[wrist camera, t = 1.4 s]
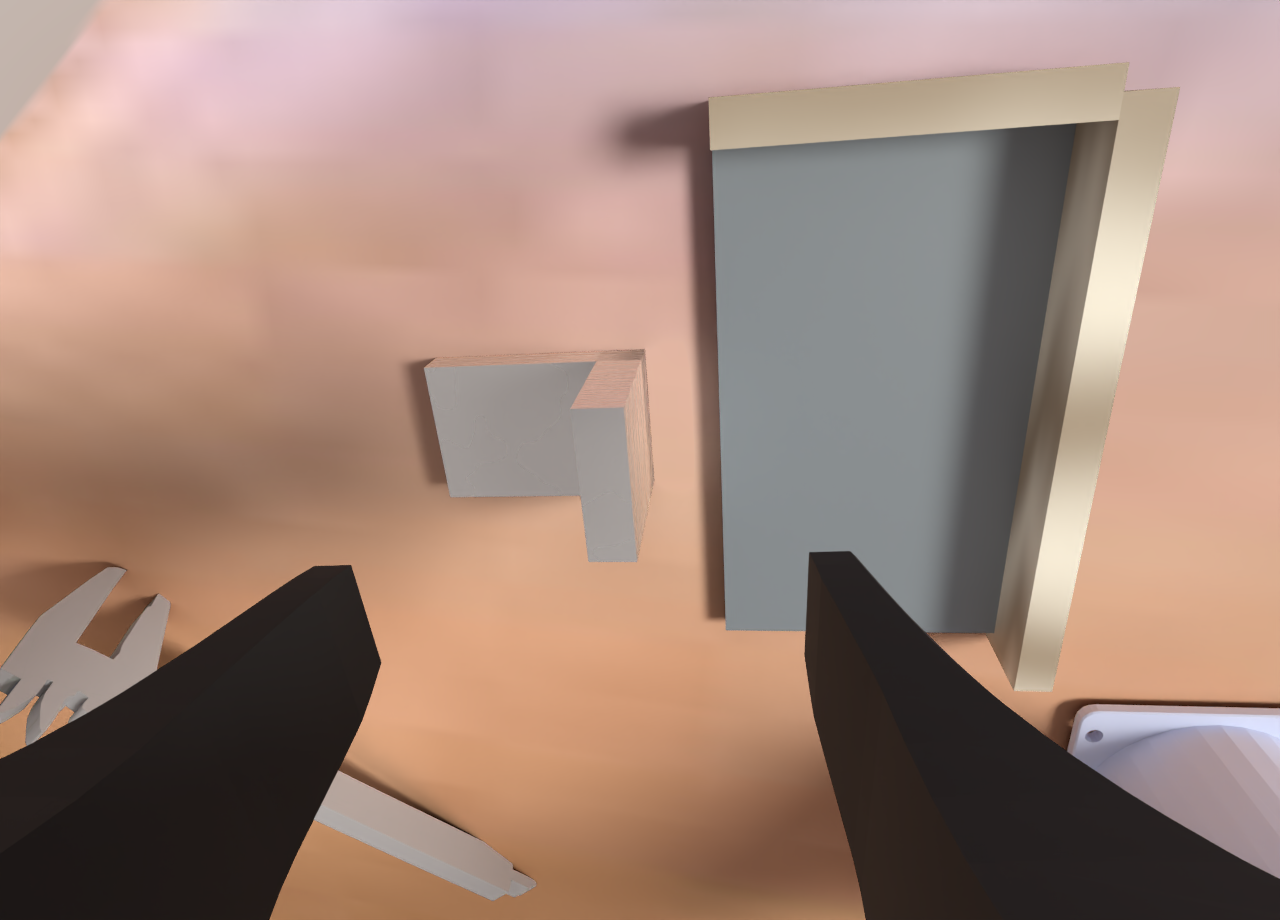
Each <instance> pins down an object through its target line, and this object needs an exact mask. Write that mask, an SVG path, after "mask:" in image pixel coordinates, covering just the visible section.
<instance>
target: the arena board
mask: <svg viewBox="0 0 1280 920" xmlns="http://www.w3.org/2000/svg"><path fill="white" fill-rule="evenodd" d="M1076 124H1077V123H1071V124H1058V125H1045V126H1031V127H1018V128H1004V129H991V130H977V131H964V132H950V133H937V134H924V135H910V136H897V137H883V138H870V139H856V140H843V141H830V142H816V143H803V144H789V145H776V146H762V147H749V148H736V149H722V150H712V166H713V200H714V235H715V270H716V305H717V339H718V374H719V409H720V444H721V479H722V513H723V548H724V583H725V618H726V630H754V631H806V611H807V588H808V565H809V552H832V551H851V552H852V553H853V554H854V555H855V556H856V557H857V558H858V559H859V560H860V562H861V563H862V564H863V565H864V566H865V567H866V569H867V570H868V571H869V572H870V573H871V574H872V575H873V577H874V578H875V579H876V580H877V581H878V582H879V583H880V585H881V586H882V587H883V588H884V589H885V590H886V591H887V592H888V593H889V595H890V596H891V597H892V598H893V599H894V600H895V601H896V602H897V603H898V604H899V605H900V607H901V608H902V609H903V610H904V611H905V612H906V613H907V614H908V615H909V616H910V617H911V618H912V619H913V620H914V621H915V622H916V623H917V624H918V625H919V626H920V627H921V628H922V629H923V630H924V631H925V632H932V633H994V631H995V625H996V618H997V612H998V606H999V600H1000V594H1001V588H1002V581H1003V575H1004V569H1005V563H1006V557H1007V550H1008V544H1009V538H1010V532H1011V526H1012V520H1013V513H1014V507H1015V501H1016V495H1017V489H1018V482H1019V476H1020V470H1021V464H1022V458H1023V452H1024V445H1025V439H1026V433H1027V427H1028V421H1029V414H1030V408H1031V402H1032V396H1033V390H1034V384H1035V377H1036V371H1037V365H1038V359H1039V353H1040V346H1041V340H1042V334H1043V328H1044V322H1045V316H1046V309H1047V303H1048V297H1049V291H1050V285H1051V278H1052V272H1053V266H1054V260H1055V254H1056V248H1057V241H1058V235H1059V229H1060V223H1061V217H1062V210H1063V204H1064V198H1065V192H1066V186H1067V180H1068V173H1069V167H1070V161H1071V155H1072V149H1073V142H1074V136H1075V130H1076Z"/></svg>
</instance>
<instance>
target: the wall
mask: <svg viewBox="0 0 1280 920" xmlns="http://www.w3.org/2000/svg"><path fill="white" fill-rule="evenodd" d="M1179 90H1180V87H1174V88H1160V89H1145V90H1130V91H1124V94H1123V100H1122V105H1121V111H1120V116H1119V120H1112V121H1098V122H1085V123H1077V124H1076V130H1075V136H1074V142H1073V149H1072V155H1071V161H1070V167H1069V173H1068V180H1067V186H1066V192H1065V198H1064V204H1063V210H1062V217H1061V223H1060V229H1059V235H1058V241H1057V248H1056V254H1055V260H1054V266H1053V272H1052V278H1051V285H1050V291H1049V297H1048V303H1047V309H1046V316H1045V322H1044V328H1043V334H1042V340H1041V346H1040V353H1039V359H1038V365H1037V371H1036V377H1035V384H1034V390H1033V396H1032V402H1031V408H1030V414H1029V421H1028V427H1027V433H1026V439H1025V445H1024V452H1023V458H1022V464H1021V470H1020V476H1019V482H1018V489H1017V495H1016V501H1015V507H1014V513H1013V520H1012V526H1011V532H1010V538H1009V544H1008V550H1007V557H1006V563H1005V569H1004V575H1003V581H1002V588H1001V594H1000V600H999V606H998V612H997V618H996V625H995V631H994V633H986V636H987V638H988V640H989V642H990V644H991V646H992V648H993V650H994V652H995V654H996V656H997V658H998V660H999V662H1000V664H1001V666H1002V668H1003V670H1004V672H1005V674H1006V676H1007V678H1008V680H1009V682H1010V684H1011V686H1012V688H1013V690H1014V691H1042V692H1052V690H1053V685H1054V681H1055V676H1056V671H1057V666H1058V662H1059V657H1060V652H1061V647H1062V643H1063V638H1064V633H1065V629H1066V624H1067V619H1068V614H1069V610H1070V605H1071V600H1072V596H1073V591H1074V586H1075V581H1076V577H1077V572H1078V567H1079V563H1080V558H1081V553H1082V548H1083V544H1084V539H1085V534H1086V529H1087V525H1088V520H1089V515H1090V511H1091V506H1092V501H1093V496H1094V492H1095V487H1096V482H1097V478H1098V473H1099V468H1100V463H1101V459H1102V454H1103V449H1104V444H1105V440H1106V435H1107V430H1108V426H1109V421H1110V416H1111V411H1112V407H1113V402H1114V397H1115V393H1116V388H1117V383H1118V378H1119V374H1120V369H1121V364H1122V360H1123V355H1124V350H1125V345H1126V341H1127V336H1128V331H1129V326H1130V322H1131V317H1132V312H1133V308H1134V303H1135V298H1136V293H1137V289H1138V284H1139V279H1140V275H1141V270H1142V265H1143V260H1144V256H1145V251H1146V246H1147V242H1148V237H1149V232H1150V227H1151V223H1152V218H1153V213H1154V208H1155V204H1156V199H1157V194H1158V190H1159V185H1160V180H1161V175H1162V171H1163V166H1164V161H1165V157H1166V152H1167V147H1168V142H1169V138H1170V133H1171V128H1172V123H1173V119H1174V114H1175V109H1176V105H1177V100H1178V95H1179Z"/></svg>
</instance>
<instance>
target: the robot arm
mask: <svg viewBox="0 0 1280 920" xmlns="http://www.w3.org/2000/svg"><path fill="white" fill-rule="evenodd" d="M805 662H806V669H807V675H808V682H809V689H810V695H811V701H812V708H813V714H814V719H815V722H816V726H817V730H818V734H819V737H820V741H821V745H822V748H823V752H824V756H825V759H826V763H827V767H828V770H829V774H830V777H831V781H832V785H833V788H834V792H835V795H836V799H837V803H838V806H839V810H840V813H841V817H842V821H843V824H844V828H845V831H846V835H847V839H848V842H849V846H850V849H851V853H852V857H853V861H854V865H855V869H856V873H857V878H858V882H859V886H860V891H861V896H862V901H863V907H864V912H865V918H866V920H1280V708H1241V707H1198V706H1154V705H1110V704H1092V705H1087V706H1084V707H1082V708H1081V709H1080V710H1079V711H1078V712H1077V714H1076V715H1075V719H1074V724H1073V728H1072V732H1071V736H1070V741H1069V745H1068V749H1067V751H1066V750H1064V749H1063V748H1062V747H1060V746H1059V745H1057V744H1056V743H1055V742H1053V741H1052V740H1050V739H1049V738H1048V737H1046V736H1045V735H1044V734H1042V733H1041V732H1040V731H1038V730H1037V729H1036V728H1034V727H1033V726H1032V725H1031V724H1029V723H1028V722H1027V721H1025V720H1024V719H1023V718H1022V717H1020V716H1019V715H1018V714H1016V713H1015V712H1014V711H1012V710H1011V709H1010V708H1009V707H1007V706H1006V705H1005V704H1003V703H1002V702H1001V701H1000V700H999V699H997V698H996V697H995V696H994V695H992V694H991V693H990V692H989V691H988V690H987V689H985V688H984V687H983V686H982V685H981V684H980V683H979V682H977V681H976V680H975V679H974V678H973V677H972V676H971V675H970V674H969V673H967V672H966V671H965V670H964V669H963V668H962V667H961V666H960V665H959V664H957V663H956V662H955V661H954V660H953V659H952V658H951V657H950V656H949V655H948V654H947V653H946V652H945V651H944V650H943V649H942V648H941V647H940V646H939V645H938V644H937V643H936V642H935V641H934V640H933V639H932V638H931V637H930V636H929V635H928V634H927V633H926V632H925V631H924V630H923V629H922V628H921V627H920V626H919V625H918V624H917V623H916V622H915V621H914V620H913V619H912V618H911V617H910V616H909V615H908V614H907V613H906V612H905V611H904V610H903V609H902V608H901V607H900V605H899V604H898V603H897V602H896V601H895V600H894V599H893V598H892V597H891V596H890V595H889V593H888V592H887V591H886V590H885V589H884V588H883V587H882V586H881V585H880V583H879V582H878V581H877V580H876V579H875V578H874V577H873V575H872V574H871V573H870V572H869V571H868V570H867V569H866V567H865V566H864V565H863V564H862V563H861V562H860V560H859V559H858V558H857V557H856V556H855V555H854V554H853V553H852V552H851V551H832V552H809V565H808V588H807V611H806V634H805ZM380 665H381V660H380V657H379V654H378V651H377V647H376V644H375V641H374V638H373V635H372V631H371V628H370V625H369V622H368V618H367V615H366V612H365V609H364V605H363V602H362V599H361V596H360V593H359V589H358V586H357V583H356V580H355V576H354V573H353V570H352V567H351V565H339V566H314V567H312V568H311V569H309V570H307V571H305V572H304V573H302V574H300V575H299V576H297V577H295V578H294V579H292V580H291V581H289V582H288V583H286V584H285V585H283V586H282V587H280V588H279V589H277V590H276V591H274V592H273V593H271V594H270V595H268V596H267V597H265V598H264V599H262V600H261V601H259V602H258V603H256V604H255V605H254V606H252V607H251V608H249V609H248V610H246V611H245V612H243V613H242V614H241V615H239V616H238V617H236V618H235V619H233V620H232V621H230V622H229V623H227V624H226V625H224V626H223V627H222V628H220V629H219V630H217V631H216V632H214V633H213V634H211V635H210V636H208V637H207V638H205V639H204V640H203V641H201V642H200V643H198V644H197V645H195V646H194V647H192V648H191V649H189V650H188V651H186V652H184V653H183V654H181V655H180V656H178V657H177V658H175V659H174V660H172V661H170V662H169V663H167V664H166V665H164V666H163V667H161V668H159V669H158V670H156V671H155V672H153V673H152V674H150V675H149V676H147V677H145V678H144V679H142V680H141V681H139V682H138V683H136V684H134V685H133V686H131V687H130V688H128V689H127V690H125V691H123V692H122V693H120V694H118V695H117V696H115V697H113V698H112V699H110V700H108V701H107V702H105V703H103V704H102V705H100V706H98V707H97V708H95V709H93V710H91V711H90V712H88V713H86V714H84V715H83V716H81V717H79V718H77V719H75V720H74V721H72V722H70V723H68V724H66V725H65V726H63V727H61V728H59V729H57V730H55V731H54V732H52V733H50V734H48V735H46V736H45V737H43V738H41V739H39V740H37V741H35V742H33V743H31V744H30V745H28V746H26V747H24V748H22V749H20V750H18V751H16V752H14V753H12V754H10V755H8V756H6V757H3V758H1V759H0V920H269V919H270V916H271V914H272V911H273V908H274V906H275V903H276V901H277V898H278V895H279V893H280V890H281V888H282V885H283V883H284V881H285V879H286V876H287V874H288V872H289V870H290V868H291V865H292V863H293V861H294V859H295V856H296V854H297V852H298V850H299V848H300V846H301V844H302V842H303V840H304V838H305V836H306V834H307V832H308V830H309V828H310V826H311V824H312V822H313V820H314V818H315V816H316V814H317V812H318V810H319V808H320V806H321V804H322V802H323V800H324V798H325V796H326V794H327V792H328V790H329V788H330V786H331V784H332V782H333V780H334V778H335V776H336V774H337V772H338V770H339V768H340V766H341V764H342V762H343V760H344V758H345V756H346V753H347V751H348V749H349V747H350V745H351V743H352V741H353V739H354V737H355V735H356V733H357V731H358V728H359V726H360V724H361V722H362V720H363V717H364V714H365V711H366V708H367V705H368V703H369V700H370V697H371V694H372V691H373V688H374V684H375V681H376V678H377V675H378V672H379V668H380ZM1092 730H1095V731H1093V732H1091V733H1088V732H1089V731H1092Z"/></svg>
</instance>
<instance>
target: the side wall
mask: <svg viewBox="0 0 1280 920" xmlns="http://www.w3.org/2000/svg"><path fill="white" fill-rule="evenodd" d="M1128 67H1129V62H1126V63H1115V64H1103V65H1091V66H1079V67H1067V68H1055V69H1043V70H1031V71H1019V72H1007V73H995V74H983V75H972V76H960V77H948V78H936V79H924V80H912V81H900V82H888V83H876V84H864V85H852V86H840V87H829V88H817V89H805V90H793V91H781V92H769V93H757V94H745V95H733V96H721V97H709V131H710V150H722V149H736V148H749V147H762V146H776V145H789V144H803V143H816V142H830V141H843V140H856V139H870V138H883V137H897V136H910V135H924V134H937V133H950V132H964V131H977V130H991V129H1004V128H1018V127H1031V126H1045V125H1058V124H1071V123H1085V122H1098V121H1112V120H1119V116H1120V111H1121V105H1122V100H1123V94H1124V89H1125V83H1126V78H1127V73H1128Z"/></svg>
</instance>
